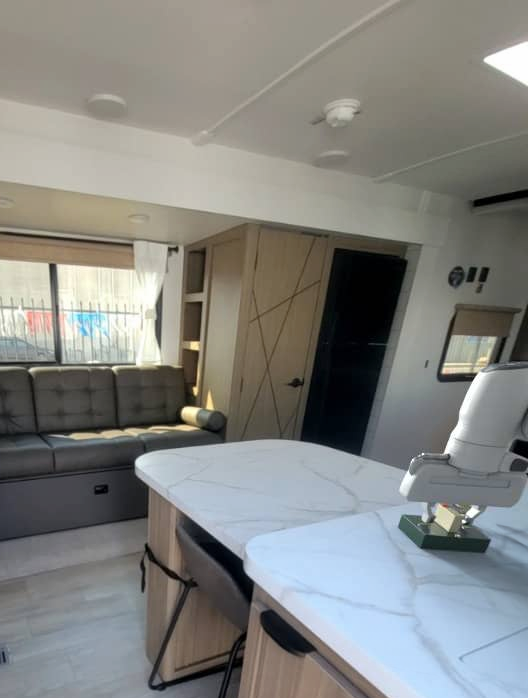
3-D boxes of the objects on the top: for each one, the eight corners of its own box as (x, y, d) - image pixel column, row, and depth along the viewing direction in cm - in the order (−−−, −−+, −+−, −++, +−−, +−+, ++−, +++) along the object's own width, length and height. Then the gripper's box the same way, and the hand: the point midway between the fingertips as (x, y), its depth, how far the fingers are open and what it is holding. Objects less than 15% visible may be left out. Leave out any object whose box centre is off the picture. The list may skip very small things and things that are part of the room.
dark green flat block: (455, 530, 86) (460, 516, 84) (486, 554, 77) (493, 539, 75) (396, 526, 86) (401, 512, 85) (420, 549, 78) (426, 534, 76)
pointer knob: (457, 532, 78) (464, 515, 76) (448, 532, 78) (455, 514, 76) (440, 520, 83) (447, 503, 81) (432, 519, 83) (438, 502, 81)
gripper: (424, 457, 72) (399, 526, 78) (544, 464, 71) (510, 534, 77) (406, 447, 77) (384, 512, 83) (517, 453, 76) (487, 519, 82)
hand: (445, 522), depth 80 cm, fingers open, 6 cm apart
